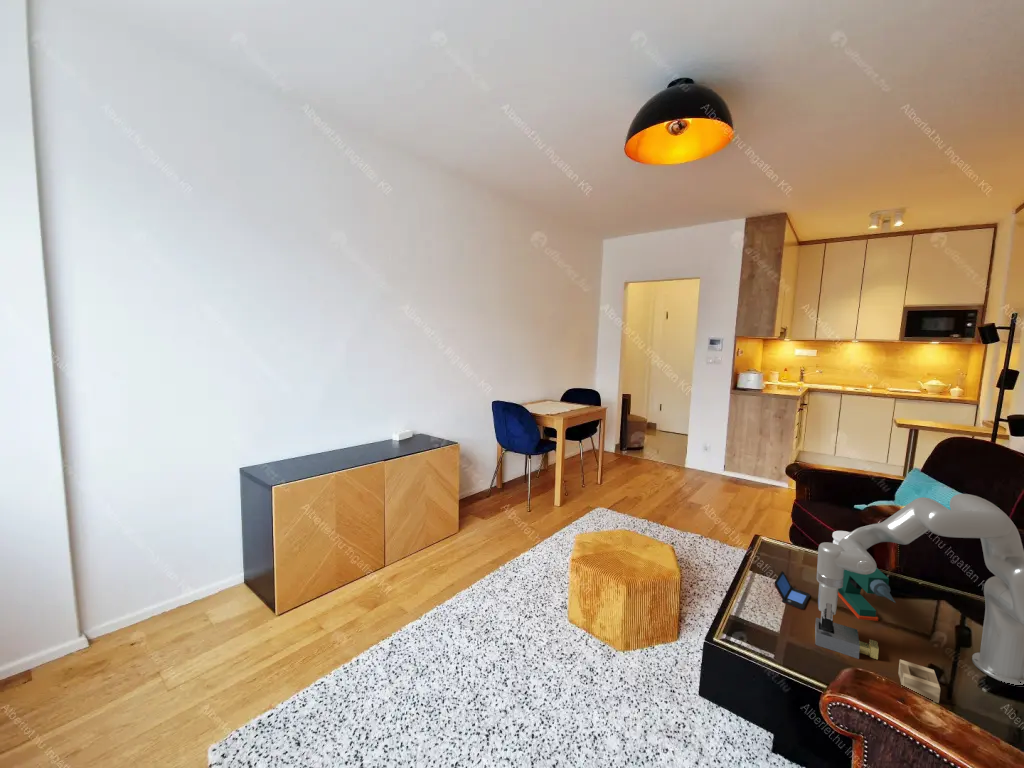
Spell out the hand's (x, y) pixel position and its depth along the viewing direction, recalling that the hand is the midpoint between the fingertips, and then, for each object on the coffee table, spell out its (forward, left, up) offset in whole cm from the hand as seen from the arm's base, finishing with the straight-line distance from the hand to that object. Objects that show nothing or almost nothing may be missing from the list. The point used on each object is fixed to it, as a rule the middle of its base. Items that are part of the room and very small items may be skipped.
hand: (826, 624), depth 151 cm
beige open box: (-23, +9, -6) cm, 25 cm away
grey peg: (0, 0, -6) cm, 6 cm away
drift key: (-8, 0, -6) cm, 10 cm away
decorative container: (-9, -52, -6) cm, 53 cm away
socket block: (-3, 0, -6) cm, 7 cm away
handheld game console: (+11, -22, -7) cm, 25 cm away
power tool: (-13, -23, -7) cm, 27 cm away
